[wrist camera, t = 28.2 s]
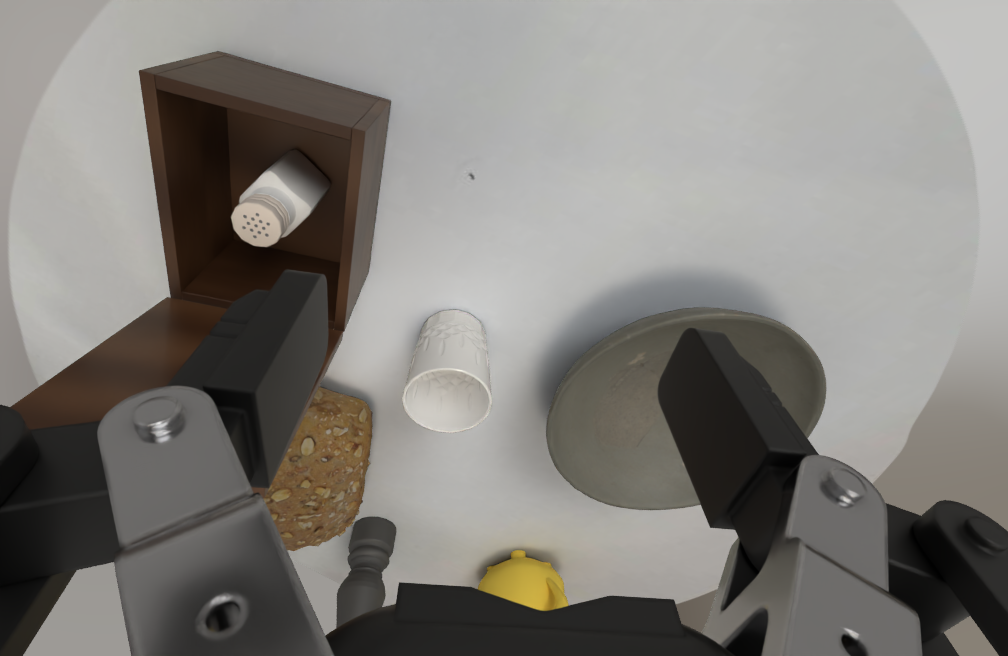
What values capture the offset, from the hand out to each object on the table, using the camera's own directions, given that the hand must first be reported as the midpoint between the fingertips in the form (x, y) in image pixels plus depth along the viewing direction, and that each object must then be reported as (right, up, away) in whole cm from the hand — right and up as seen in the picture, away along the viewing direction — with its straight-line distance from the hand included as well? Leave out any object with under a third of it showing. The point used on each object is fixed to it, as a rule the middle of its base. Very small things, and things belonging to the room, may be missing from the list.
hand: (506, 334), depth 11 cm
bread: (-26, -13, +48) cm, 56 cm away
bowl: (+18, -5, +44) cm, 48 cm away
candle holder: (-19, -29, +60) cm, 69 cm away
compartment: (-17, +13, +30) cm, 36 cm away
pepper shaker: (-17, +13, +29) cm, 36 cm away
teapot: (+4, -40, +68) cm, 79 cm away
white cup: (-5, -1, +40) cm, 40 cm away
